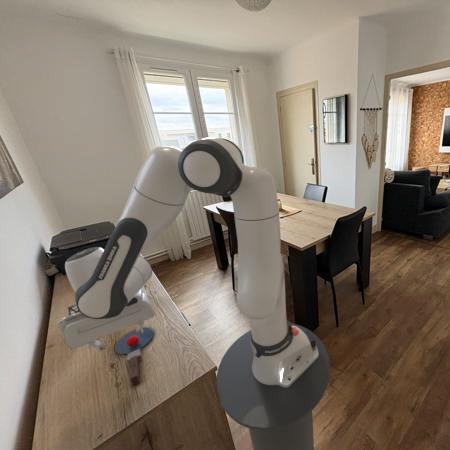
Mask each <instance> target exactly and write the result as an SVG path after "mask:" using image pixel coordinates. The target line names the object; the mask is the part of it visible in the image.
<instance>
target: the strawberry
mask: <svg viewBox="0 0 450 450" xmlns="http://www.w3.org/2000/svg"><path fill="white" fill-rule="evenodd" d="M138 341H139V338H138V337H137V336H131V337H129V338H128V340H127V345H128V346H130V347H134V346H136V345H137V343H138Z"/></svg>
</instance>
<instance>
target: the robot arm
mask: <svg viewBox="0 0 450 450" xmlns="http://www.w3.org/2000/svg"><path fill="white" fill-rule="evenodd" d="M244 161H245V159H244V155H243V153H242V150H241V149H240V147H239V146H238V145H237V144H236V143H235V142H233V141H232V140H229V139H227V138H221V137H214V136H213V137H212V136H211V137H205V138H200V139H196V140H193V141H191V142H189V143H188V144H186V146H185V147H184V148H182V149H180V148H178V147H175V146H170V145H159V146H156V147H154V148H153V149H152V150H151V151H150V152H149V154H148V155H147V157H146V158H145V160H144V161H143V164H142V165H141V167H140V168H139V171H138V173H137V175H136V178H135V180H134V182H133V185H132V188H131V190H130V193H129V196H128V198H127V201H126V204H125V206H124V208H123V211H122V213H121V214H120V217H119V218H118V221H117V224H116V226H115V228H114V230H113V232H112V233H111V235H110V237H109V238H108V241H107V243H106V245H105V247H104V248H102V247H100V246H93V247H89V248H86V249H83V250H81V251H78V252H76V253H74V254H73V255H71V256H70V257H68V258H67V259H66V261H65V263H64V269H65V273H66V277H67V279H68V281H69V284H70V285H71V287H72V289H73V291H74V292H75V294H74V302H75V305H76V306H77V308H78V310H79V311H80V312H78V313H75V314H73V315H69V314H68V315H66V316H65V317H63V318H62V319H61V320H59V322H58V324H57V327H58V329H59V330H60V332H62V333H64V337H65V340H66V344H67V346H68V347H69V348H71V349H77V348H80V347H83V346H84V345H87V344H88V345H89V346H90V347H93V348H95V349H97V350H98V352H101V351H104V350H106V347H107V345H106V343H105V341H104V340H103V341H99V340H100V339H102V338H104V337H107V336H110V335H112V334H114V333H117V332H119V331H122V330H125V329H127V328H130V327H132V326H134V325H138V326H137V327H135V330H136V332H137V335H139V334H142V333H143V328H144V324H145V321H147V320H149V319H152V318H153V317H155V314H156V309H155V306H154V303H153V302H152V300H151V299H150V297H149V296H148V294H147V295H146V294H144V293H143V291H142V289H141V288H142V287H143V286H144V287H145V285H146V284H147V283H148V282H149V280H150V279H151V277H152V276H153V268H152V265H151V263H150V262H149V260H147V259H146V258H145V257H144V256H141V254H142V253H143V252H144V251H145V250H146V248H147V247H148V246H149V245H150V244H151V243H152V242H153V241H154V240H156V239H157V238H158V237H159V236H160V235H162V233H163V232H164V231H166V230H167V229H168V228H169V227H170V226H172V224H173V223H174V222H175V220H176V219H177V218H178V216H179V215H180V213H181V212H182V210H183V208H184V206H185V204H186V202H187V200H188V197H189V194H190V193H191V191H192V190H194V191H197V192H200V193H203V194H212V195H215V196H220V197H223V198H227V197H228V198H229V197H230V198H231V202H232V209H233V215H234V223H235V232H236V239H237V295H236V307H237V308H238V311H239V312H240V313H241V314H242V315H243V316H245V317H246V318H248V321H249V326H250V330H251V345H252V350H253V352H254V359H253V364H252V372H253V375H254V377H255V378H256V379H257V380H258V381H259V382H261V383H263V384H266V385H279V386H282V387H285V388H288V387H289V386H291V385H292V384H293V383H294V382H295V381H296V380H297V379H298V378H299V377H300V375H301V374H302V373H303V372H304V371H305V370H306V369H307V368H308V367H309V366H310V365H311V364H312V363H313V362H314V361H315V360H316V359H317V358H318V357H319V353H318V349H317V347H316V343H315V338H314V337H313V336H312V334H311V333H310V332H309V330H310V329H308V330H306V331H304V332H303V331H302V330H301V329H300V328H298V327H296V326H292V324H293V323H292V322H290V321H289V320H288V319H287V318H288V317H287V304H286V279H285V278H286V276H285V263H284V259H283V256H282V254H281V252H282V251H281V244H282V241H281V240H282V239H281V222H280V206H279V200H278V199H279V197H278V192H277V188H276V184H275V180H274V177H273V175H272V174H271V172H270V171H269V170H267V169H264V168H262V167H258V166H251V167H250V166H247V165H245V162H244ZM291 323H292V324H291ZM289 379H290V381H289Z"/></svg>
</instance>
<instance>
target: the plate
mask: <svg viewBox="0 0 450 450" xmlns="http://www.w3.org/2000/svg"><path fill="white" fill-rule="evenodd" d="M131 336H137V337H138V338H139V341H138V343H137V345H136V346H134V347H130V346H128V345H127V340H128V338H129V337H131ZM153 338H154V330H153V329H152V328H150V327H143V333H142V334H139V335H137V332H136V329H134V330H131V331H129V332H127V333H126V334H125V335H123V336H122V337H121V338H119V340H118V341H117V342H116V344H115V352H116V353H117V354H119V355H121V356H127V354H129V353H131V352H133V351H136V350H138V349H140V350H142V349H144V348H145V347H147V345H148V344H150V342H151V341H152V340H153Z"/></svg>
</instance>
